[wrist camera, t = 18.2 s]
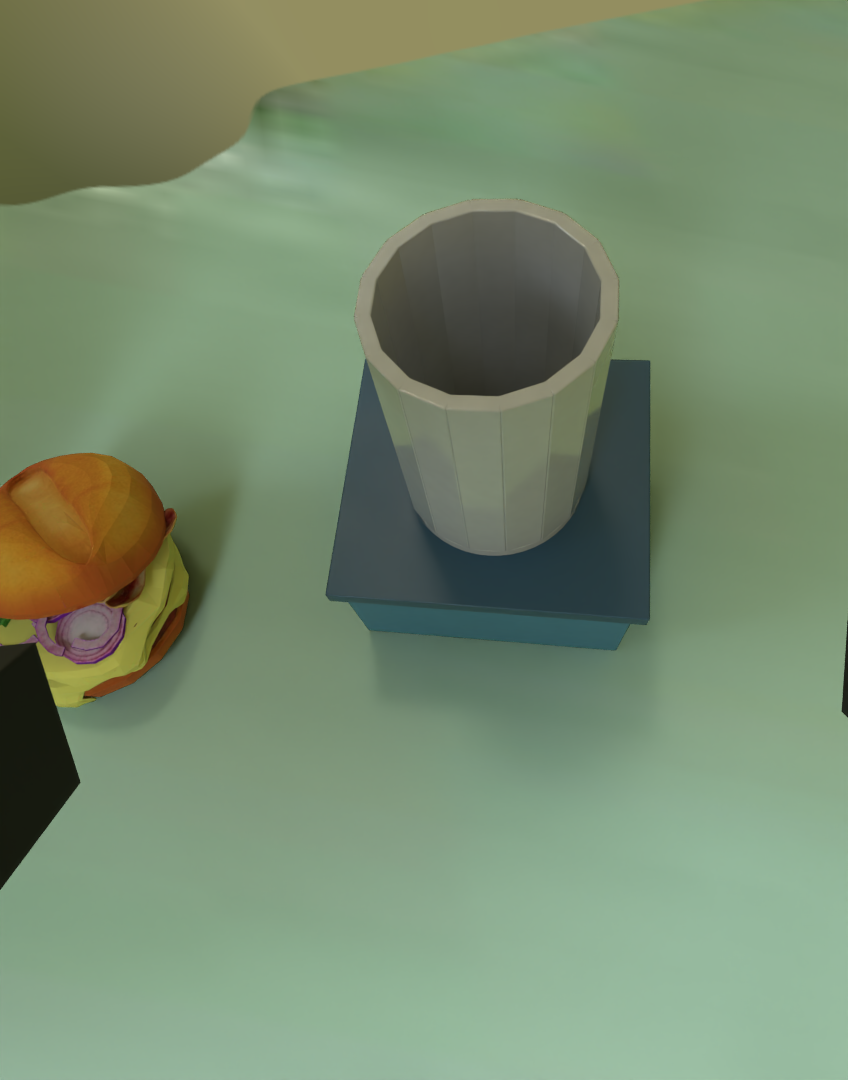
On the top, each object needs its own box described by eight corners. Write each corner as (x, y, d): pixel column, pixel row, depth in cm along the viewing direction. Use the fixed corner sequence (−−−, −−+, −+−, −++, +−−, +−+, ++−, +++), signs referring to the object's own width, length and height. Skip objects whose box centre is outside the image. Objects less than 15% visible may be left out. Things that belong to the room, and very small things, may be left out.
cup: (398, 550, 30) (337, 406, 20) (418, 396, 32) (374, 199, 22) (581, 562, 29) (616, 415, 19) (587, 401, 31) (621, 196, 21)
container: (359, 637, 36) (324, 595, 29) (390, 429, 40) (365, 353, 34) (624, 660, 34) (650, 620, 28) (627, 439, 38) (650, 359, 32)
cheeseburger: (-22, 694, 37) (-165, 592, 29) (83, 529, 43) (-11, 406, 35) (154, 736, 35) (53, 638, 27) (240, 557, 41) (178, 432, 33)
